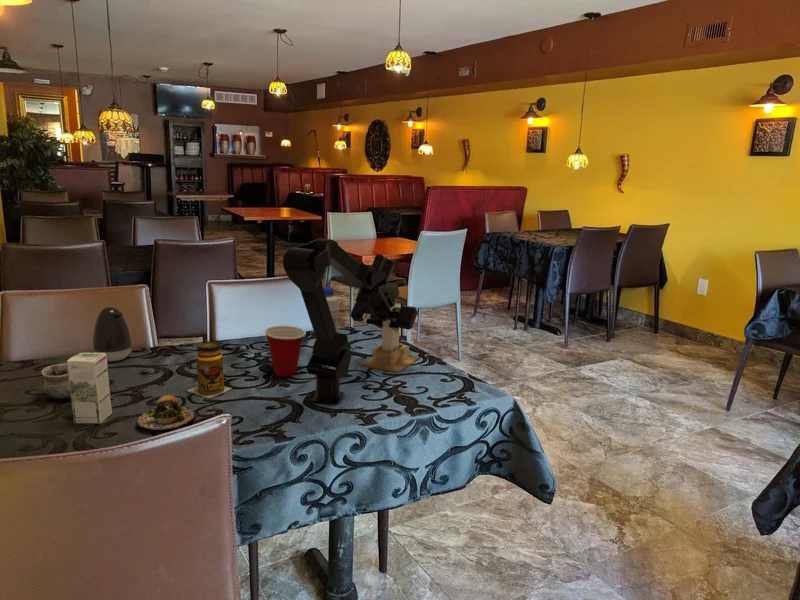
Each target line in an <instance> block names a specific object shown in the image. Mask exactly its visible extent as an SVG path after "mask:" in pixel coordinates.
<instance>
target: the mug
mask: <svg viewBox="0 0 800 600" xmlns="http://www.w3.org/2000/svg"><path fill="white" fill-rule="evenodd" d="M40 373H41V375H42V377H43V379H44V380H43V384H42V385H43V390H44V392H45V394H47V396H49V397H50V398H53V399H61V400H65V399H66V400H67V399H71V393H70V384H69V375H68V367H67V362H66V363H63V362H62V363H57V364H52V365H49V366H47V367H44V368H42V370H41V372H40Z"/></svg>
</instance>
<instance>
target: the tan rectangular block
mask: <svg viewBox="0 0 800 600" xmlns="http://www.w3.org/2000/svg"><path fill="white" fill-rule="evenodd" d="M390 322H391V320H387V321H383V329H382V336H381V337H382V341H381V345H382V350H386V351H391V352H393V351H395V350H397V349H399V344H400V330H399V331H398V332H396V331H395V330H393V329H391V328H390V327H389V324H390Z"/></svg>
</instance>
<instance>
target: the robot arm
mask: <svg viewBox="0 0 800 600" xmlns="http://www.w3.org/2000/svg"><path fill="white" fill-rule="evenodd" d="M329 266H331V267H333V269H335V270H336V271H338V272H339V273H340V274H341V275H342V281H344V283H345V284H346V285H347V286H348V288H353V289H358V290H357V295H356V297H355V303H354V305H353V306H352V310H351V311H350V318H351V319H352V320H353V322H360V323H362V322H363V321H364V319H366V321H365V323H366V325H367V324H368V325H371V326H374V327H378V328H380V329H382V330H383V321H387V320H391V322H390V324H389V327H390V328H391V329H393V330H395V331H396V332H398V331H399V332H400V329H404V330H411V329H413V326H414V323H415V321H416V318H417V317H418V315H419V311H418V310H417V308H416V306H410V305H402V306H401V307H398V306H395V305H396V302H395V301H396V299H397V298H398V297H399V296H400V289H399V285H398V283H394V282H389V280H390V277H391V276H392V272H393V270H394V268H395V263H394V261H392V260H391V259H389V258H388V257H386V256H384V254H378V253H376V254H375V256H374V259H373V262H372V263H371V265H369V264H365V263H361V262H359V261H357V260H356V259H355V258H354V257H353V256H352V255H350V254H349V253H348V252H347V251H346V250H344V249H343V248H342V247H341V246H340V245H339V243H338V241H336V240H334V239H333V238H332V239H331V238H321V237H320V238H317V239H314V240H313V241H310V242H308V243H307V242H306V243H303V244H301V245H298V246H295V247H290V248H288V250H287V251H285V254H284V255H283V257H282V268H283V269H284V272H285V274H286V275H287V278H288V279H289V280H290V281H291V282H292V283H293V284H294V286H296V287H297V288H299V290H300V293H301V297H302V299H303V303H304V305H305V308H306V311H307V315H308V318H309V320H310V324H311V326H312V330H313V332H314V336H315V341H314V343H313V347H312V350H313V351H312V352H313V353H312V355H311V357H310V359H309V361H308V363H307V365H306V367H305V368H306V372H307V374H308V375H314V376H315V395H314V396H313V397H312V399H311V401H310V402H311V403H315V404H316V403H319V404H328V405H338V404H339V403H340V401H341V400H342V398H343V397H344V396H345V392H342V391H340V390H341V387H340V386H341V379H342V378H344V377H346V376H348V375H349V370H350V364H351V359H352V354H351V347H352V346H351V345H350V343H349V338H348V336H347V335H348V334H346V333H341V332H338V333H337V332H336V329H335V325H334V322H333V319H332V315H331V312H330V309H329V305H328V302H327V299H326V295H325V292H324V289H323V288H324V286H323V283H322V281H323V279H324V278H325V277H324V276H325V273H326V268H327V267H329ZM364 314H365V315H364ZM326 366H327V367H326Z"/></svg>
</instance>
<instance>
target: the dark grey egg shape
mask: <svg viewBox="0 0 800 600" xmlns="http://www.w3.org/2000/svg"><path fill="white" fill-rule="evenodd" d="M130 330H131V329H130V327H129V325H128V323H127V320H126V319H125V316H124V314H123V312H122V311H120V310H119V309H118V308H117V307H115V306H106V307H104V308H102V309H101V310H100V311H99V313H98V315H97V317H96V319H95V323H94V326H93V332H92V339H91V340H92V341H91V349H92V351H94V352H93V353H106V357H107V363H110V362H111V363H112V362H119V361H122V360H124V359H126V358H127V357H128V356H129V355H130V352H131V351H132V347H133V345H134V344H133V338H132V334H131V331H130Z"/></svg>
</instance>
